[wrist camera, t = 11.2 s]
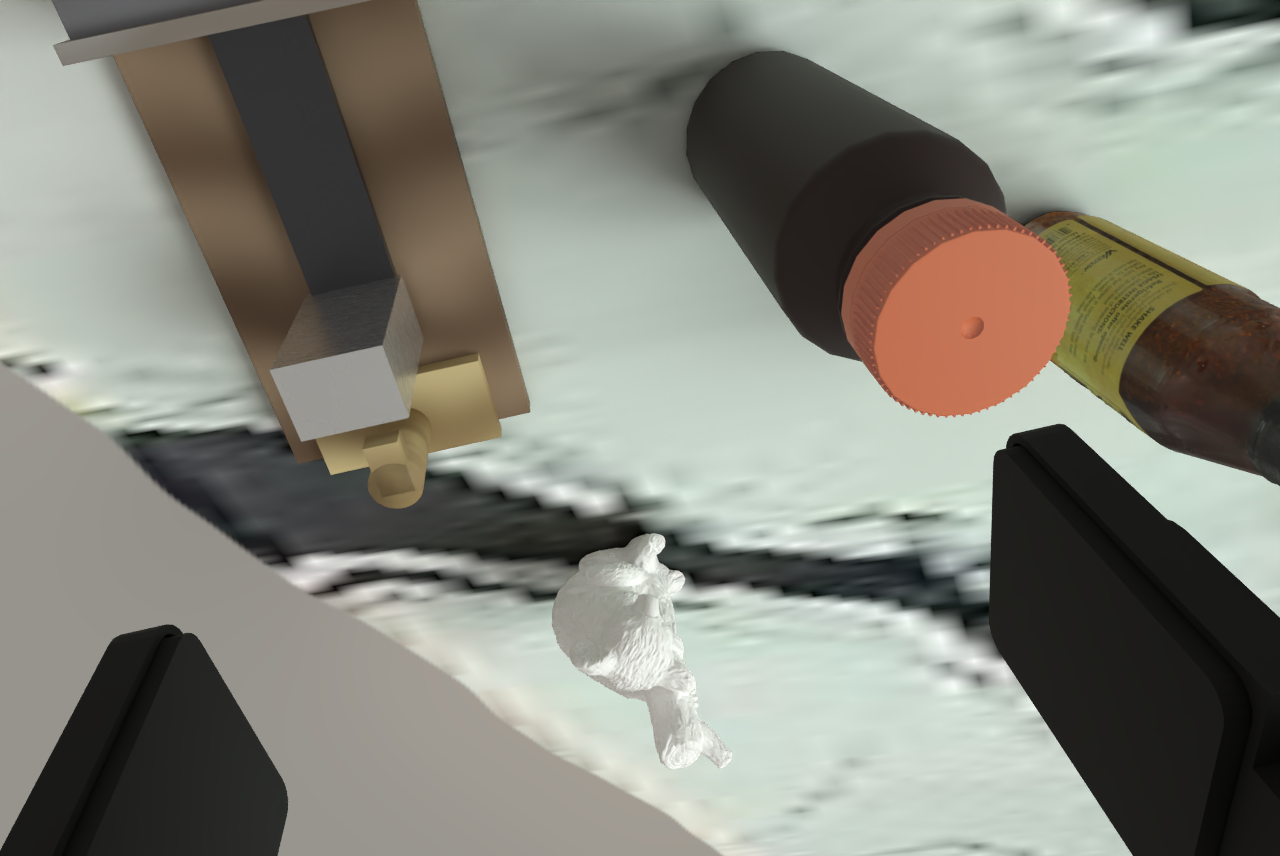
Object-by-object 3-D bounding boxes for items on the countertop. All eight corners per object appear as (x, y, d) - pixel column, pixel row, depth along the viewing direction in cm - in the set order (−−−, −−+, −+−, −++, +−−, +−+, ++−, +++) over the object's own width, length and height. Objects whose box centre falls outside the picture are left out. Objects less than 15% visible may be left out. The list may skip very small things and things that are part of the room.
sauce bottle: (978, 337, 45) (1270, 609, 28) (987, 214, 41) (1325, 436, 24) (1105, 316, 45) (1472, 571, 28) (1125, 192, 42) (1553, 395, 25)
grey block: (200, 22, 32) (128, 52, 26) (310, -1, 32) (264, 23, 26) (333, 355, 39) (301, 441, 33) (423, 335, 39) (408, 417, 33)
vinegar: (650, 140, 38) (771, 342, 21) (769, 10, 36) (1011, 114, 19) (757, 245, 41) (941, 497, 24) (872, 129, 39) (1164, 314, 22)
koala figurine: (721, 566, 50) (778, 740, 40) (635, 638, 52) (668, 822, 41) (612, 483, 46) (643, 650, 36) (523, 564, 48) (529, 745, 38)
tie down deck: (-9, -244, 29) (-132, -277, 23) (328, -313, 29) (287, -363, 24) (306, 461, 43) (276, 545, 38) (532, 410, 44) (536, 487, 38)
